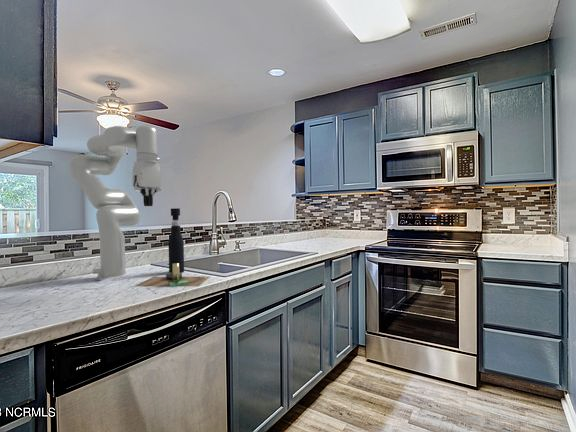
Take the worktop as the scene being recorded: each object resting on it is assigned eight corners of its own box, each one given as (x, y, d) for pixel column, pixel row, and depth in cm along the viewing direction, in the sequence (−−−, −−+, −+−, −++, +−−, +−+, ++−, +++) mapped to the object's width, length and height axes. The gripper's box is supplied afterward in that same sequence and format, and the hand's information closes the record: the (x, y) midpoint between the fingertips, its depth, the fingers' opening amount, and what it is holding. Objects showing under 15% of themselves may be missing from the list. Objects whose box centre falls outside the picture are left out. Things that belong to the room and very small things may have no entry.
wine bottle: (179, 273, 147) (177, 208, 146) (187, 275, 143) (185, 208, 142) (166, 275, 142) (164, 208, 141) (174, 277, 138) (172, 208, 137)
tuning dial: (165, 277, 131) (165, 259, 131) (181, 275, 133) (180, 258, 133) (168, 286, 116) (167, 265, 116) (185, 284, 118) (185, 264, 118)
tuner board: (133, 290, 117) (133, 283, 117) (153, 280, 133) (153, 274, 133) (198, 290, 116) (198, 283, 116) (210, 280, 132) (210, 274, 132)
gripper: (157, 162, 133) (158, 206, 133) (123, 157, 120) (124, 206, 120) (169, 160, 129) (170, 205, 129) (134, 155, 116) (136, 206, 116)
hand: (148, 206), depth 125 cm, fingers closed
